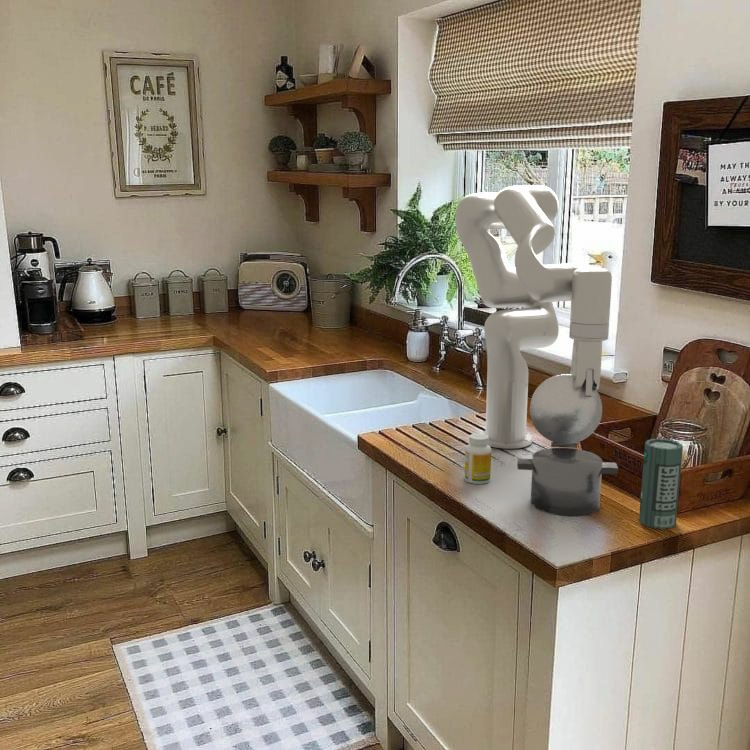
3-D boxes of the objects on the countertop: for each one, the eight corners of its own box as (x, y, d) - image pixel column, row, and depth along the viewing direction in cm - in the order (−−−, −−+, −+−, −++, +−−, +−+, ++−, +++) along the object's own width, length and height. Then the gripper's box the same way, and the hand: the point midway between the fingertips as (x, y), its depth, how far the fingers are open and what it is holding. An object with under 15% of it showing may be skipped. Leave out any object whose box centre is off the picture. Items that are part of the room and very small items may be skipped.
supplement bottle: (459, 480, 171) (460, 436, 169) (474, 473, 175) (475, 430, 173) (480, 486, 168) (481, 441, 166) (495, 479, 172) (497, 435, 169)
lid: (528, 446, 166) (528, 443, 168) (600, 449, 164) (598, 446, 166) (531, 373, 163) (531, 371, 166) (604, 376, 161) (602, 374, 164)
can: (664, 514, 154) (671, 437, 150) (681, 527, 148) (688, 448, 145) (634, 516, 153) (639, 439, 150) (649, 530, 147) (656, 450, 144)
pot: (515, 488, 167) (517, 445, 165) (609, 492, 164) (612, 450, 162) (516, 513, 155) (518, 467, 152) (619, 518, 152) (622, 472, 150)
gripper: (566, 324, 171) (562, 409, 175) (573, 337, 157) (568, 429, 161) (603, 324, 170) (598, 410, 174) (613, 338, 156) (607, 431, 160)
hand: (584, 419), depth 168 cm, fingers closed
